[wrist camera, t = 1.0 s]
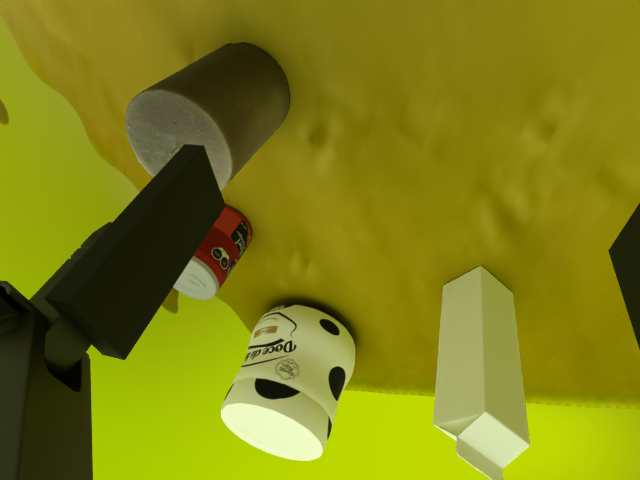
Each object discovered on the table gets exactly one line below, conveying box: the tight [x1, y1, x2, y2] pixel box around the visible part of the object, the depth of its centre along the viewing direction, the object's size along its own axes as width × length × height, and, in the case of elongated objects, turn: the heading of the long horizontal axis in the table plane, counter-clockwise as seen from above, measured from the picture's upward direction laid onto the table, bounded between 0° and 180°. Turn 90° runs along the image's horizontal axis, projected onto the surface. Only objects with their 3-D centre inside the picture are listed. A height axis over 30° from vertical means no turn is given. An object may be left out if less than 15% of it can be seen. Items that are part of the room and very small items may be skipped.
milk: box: [433, 266, 530, 480], centre depth 41 cm, size 6×6×22 cm
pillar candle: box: [125, 42, 290, 191], centre depth 36 cm, size 10×10×15 cm
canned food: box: [173, 206, 252, 300], centre depth 51 cm, size 8×8×11 cm
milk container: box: [221, 304, 355, 461], centre depth 59 cm, size 17×17×18 cm
